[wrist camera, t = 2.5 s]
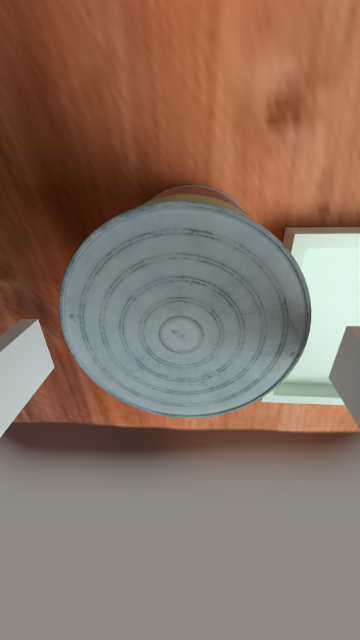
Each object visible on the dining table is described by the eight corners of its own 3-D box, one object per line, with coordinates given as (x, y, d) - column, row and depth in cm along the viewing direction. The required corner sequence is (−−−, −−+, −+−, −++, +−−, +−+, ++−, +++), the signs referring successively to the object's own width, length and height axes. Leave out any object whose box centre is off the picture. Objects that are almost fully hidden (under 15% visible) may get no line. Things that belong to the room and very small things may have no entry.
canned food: (137, 317, 25) (92, 417, 15) (114, 190, 20) (17, 212, 9) (252, 313, 24) (291, 419, 14) (263, 178, 19) (341, 188, 8)
